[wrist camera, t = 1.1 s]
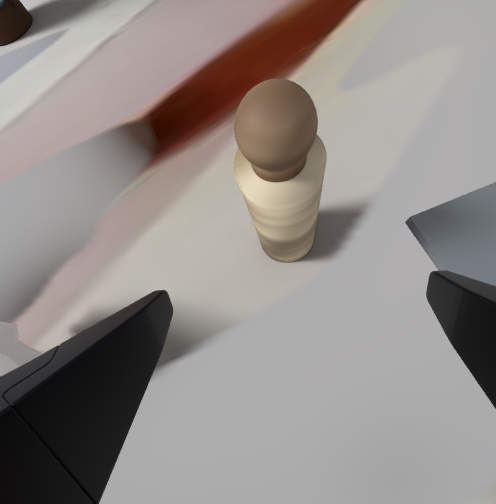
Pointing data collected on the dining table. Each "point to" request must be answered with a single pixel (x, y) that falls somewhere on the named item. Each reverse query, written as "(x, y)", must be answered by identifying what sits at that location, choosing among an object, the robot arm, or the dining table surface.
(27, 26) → the olive oil
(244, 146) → the pepper mill
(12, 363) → the spiral staircase
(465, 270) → the slate board
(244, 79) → the dining table surface
